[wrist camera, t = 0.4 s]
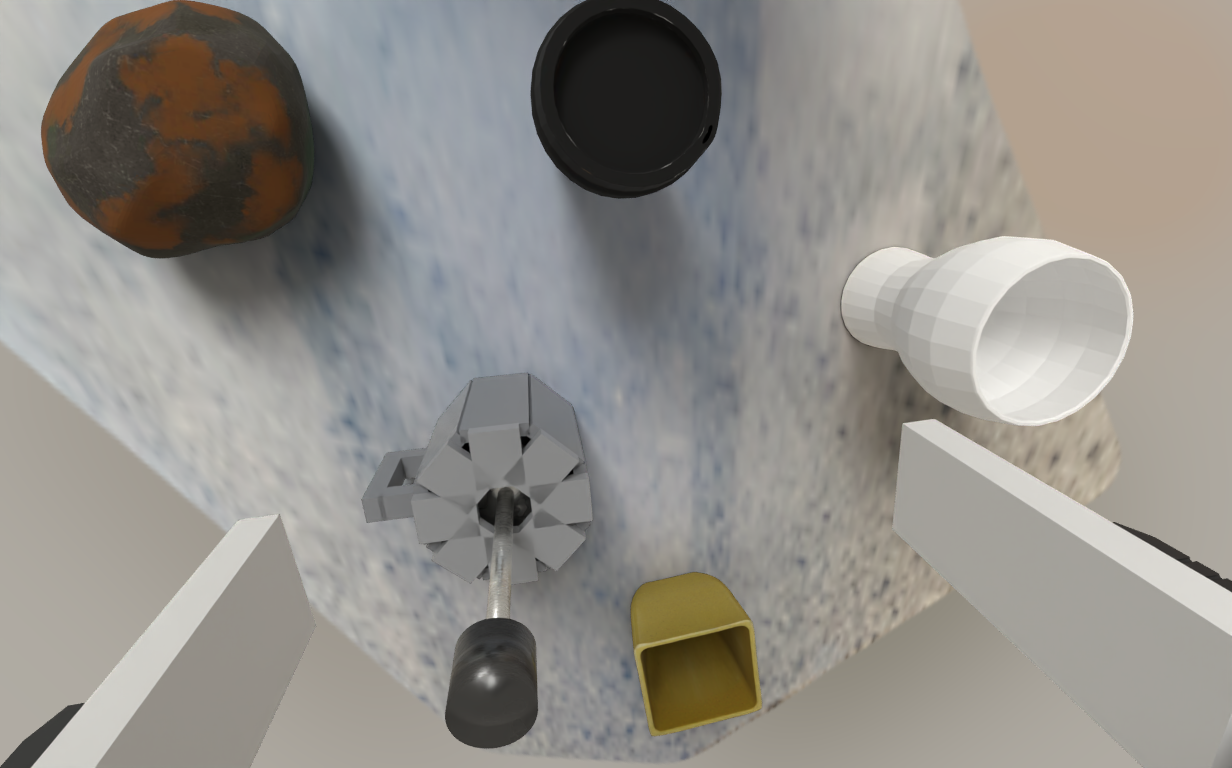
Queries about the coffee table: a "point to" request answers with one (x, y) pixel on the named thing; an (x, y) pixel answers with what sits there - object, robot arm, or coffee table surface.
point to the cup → (996, 324)
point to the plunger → (495, 646)
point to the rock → (181, 130)
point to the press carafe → (492, 478)
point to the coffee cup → (625, 96)
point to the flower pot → (693, 653)
